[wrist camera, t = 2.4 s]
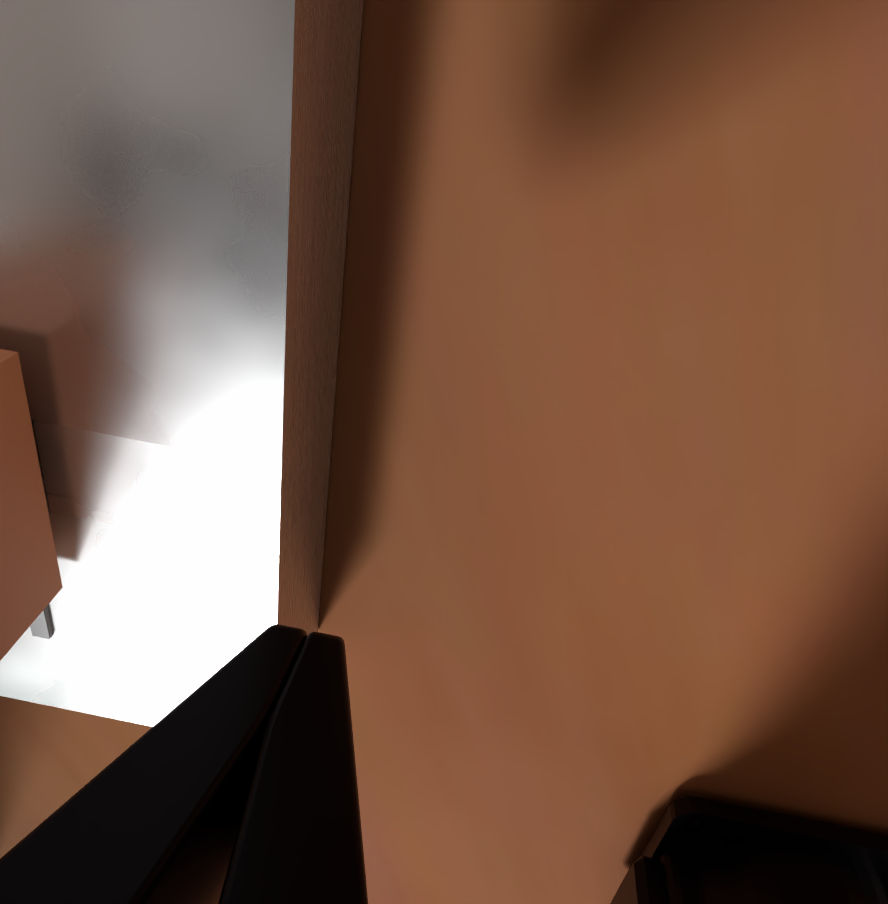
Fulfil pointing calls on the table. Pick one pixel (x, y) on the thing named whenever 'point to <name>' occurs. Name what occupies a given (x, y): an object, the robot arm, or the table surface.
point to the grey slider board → (174, 325)
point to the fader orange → (22, 514)
